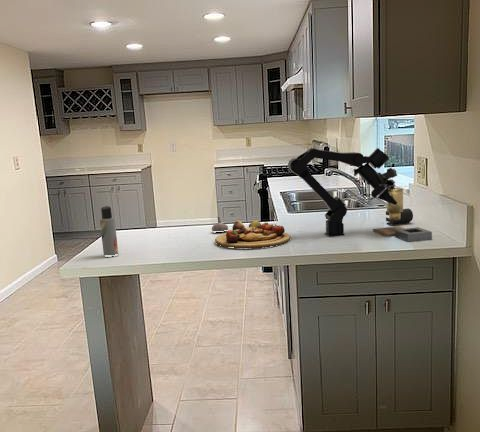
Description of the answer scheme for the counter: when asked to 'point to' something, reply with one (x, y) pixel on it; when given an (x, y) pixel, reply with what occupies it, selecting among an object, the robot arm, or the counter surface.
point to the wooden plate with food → (253, 236)
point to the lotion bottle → (108, 232)
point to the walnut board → (387, 231)
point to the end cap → (401, 217)
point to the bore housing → (413, 234)
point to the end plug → (396, 209)
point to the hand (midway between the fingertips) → (398, 202)
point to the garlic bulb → (219, 226)
